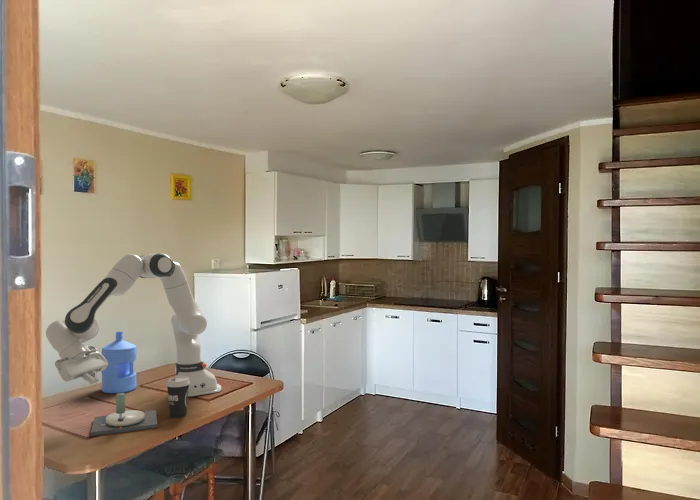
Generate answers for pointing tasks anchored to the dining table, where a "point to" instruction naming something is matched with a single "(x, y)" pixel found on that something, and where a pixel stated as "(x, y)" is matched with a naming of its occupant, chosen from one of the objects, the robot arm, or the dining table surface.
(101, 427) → the dial base plate
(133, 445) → the dining table surface
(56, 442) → the dining table surface
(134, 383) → the water jug
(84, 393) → the dining table surface
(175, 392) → the coffee cup
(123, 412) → the dial
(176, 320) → the robot arm
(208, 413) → the dining table surface
